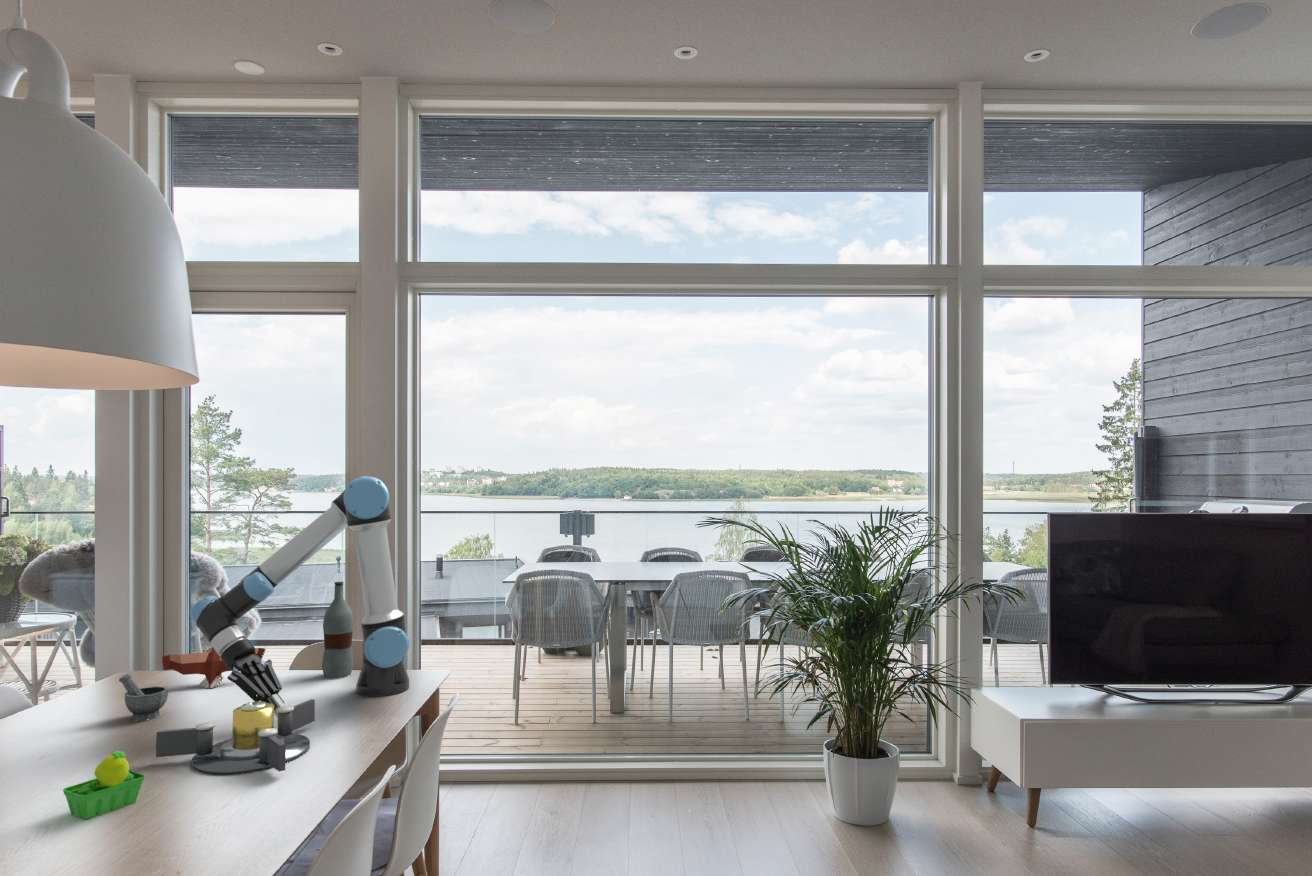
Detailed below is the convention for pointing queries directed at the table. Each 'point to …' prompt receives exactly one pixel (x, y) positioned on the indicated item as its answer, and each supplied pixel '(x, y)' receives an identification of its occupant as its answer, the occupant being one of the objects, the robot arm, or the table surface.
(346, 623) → the bottle
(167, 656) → the decorative bird
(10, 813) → the table surface
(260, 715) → the tribrach
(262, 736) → the knob left
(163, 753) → the knob far
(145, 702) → the mortar and pestle
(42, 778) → the table surface
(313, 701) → the knob near arm
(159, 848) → the table surface
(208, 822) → the table surface
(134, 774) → the fruit basket
